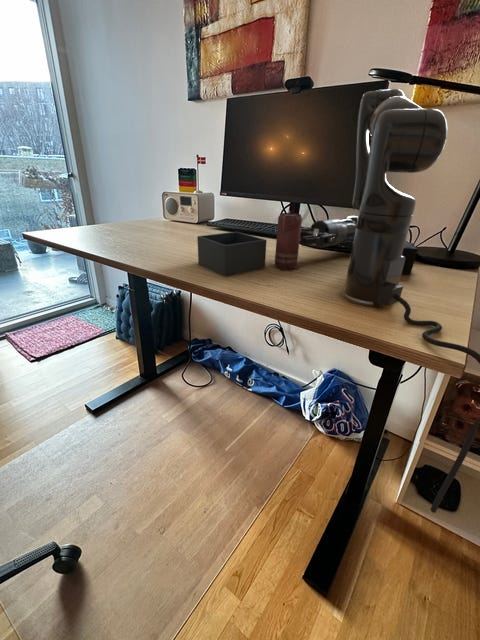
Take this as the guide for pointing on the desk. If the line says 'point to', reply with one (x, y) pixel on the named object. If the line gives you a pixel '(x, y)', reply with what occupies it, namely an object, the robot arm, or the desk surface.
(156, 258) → the desk surface
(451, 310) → the desk surface
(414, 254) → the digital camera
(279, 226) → the can
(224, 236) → the bin
